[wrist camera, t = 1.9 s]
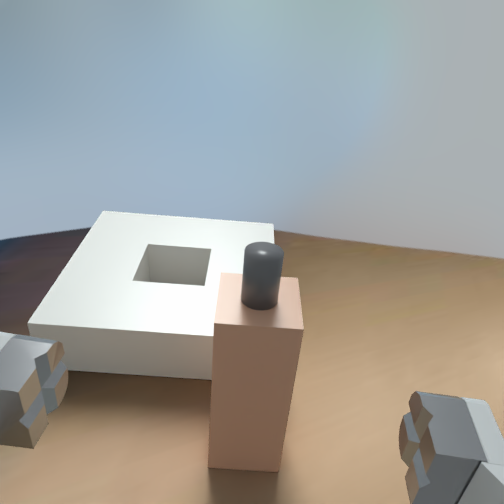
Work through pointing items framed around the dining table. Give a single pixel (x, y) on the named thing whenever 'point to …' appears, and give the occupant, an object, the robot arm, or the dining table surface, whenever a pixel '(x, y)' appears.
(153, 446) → the dining table surface
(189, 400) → the dining table surface
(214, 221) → the socket
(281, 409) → the plug
